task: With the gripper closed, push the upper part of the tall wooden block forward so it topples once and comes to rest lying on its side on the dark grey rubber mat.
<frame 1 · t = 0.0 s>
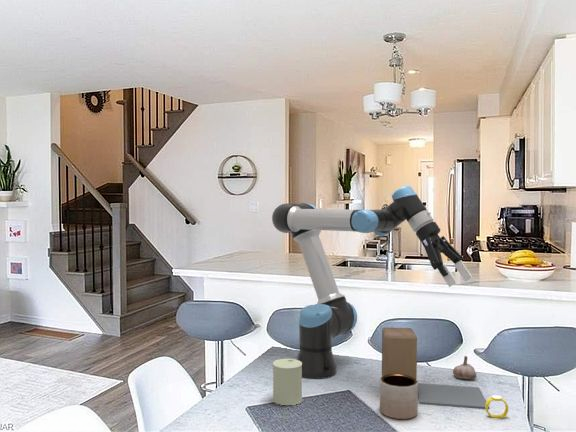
hand: (461, 282, 156), 36 cm above the table, tool tilted 35°, fingers open, 13 cm apart
garlic bulb: (464, 378, 171), on the table
can: (287, 400, 152), on the table
planter: (398, 413, 143), on the table
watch: (496, 417, 140), on the table
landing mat: (450, 396, 155), on the table
wooden block: (398, 393, 158), on the table
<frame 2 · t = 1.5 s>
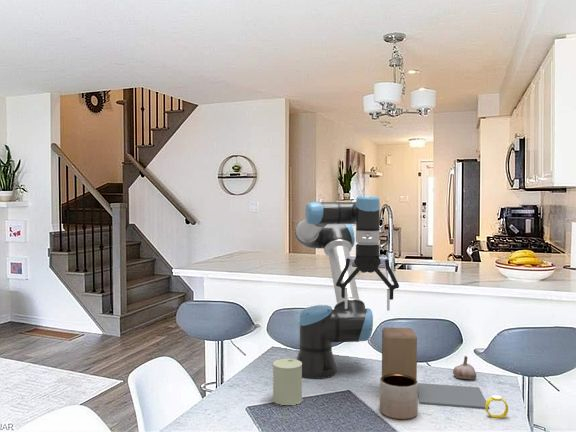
hand: (367, 308, 159), 27 cm above the table, tool pointing down, fingers open, 13 cm apart
nothing on the table moved.
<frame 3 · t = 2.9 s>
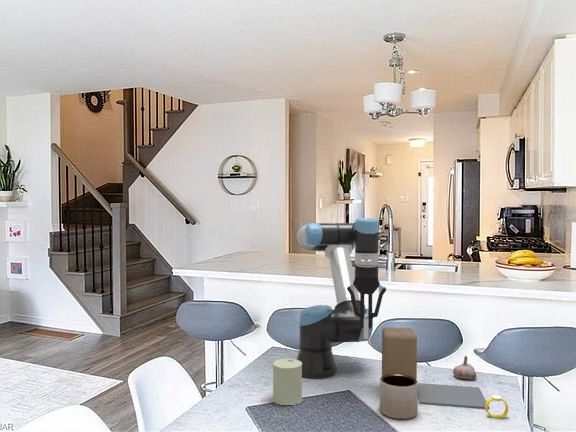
hand: (366, 337, 159), 17 cm above the table, tool pointing down, fingers closed
nothing on the table moved.
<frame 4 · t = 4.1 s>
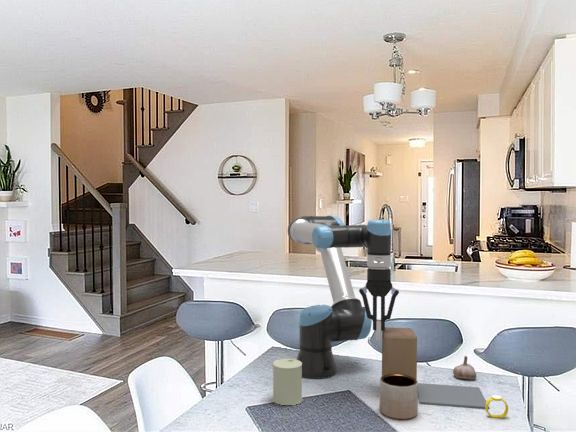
hand: (378, 340, 158), 17 cm above the table, tool pointing down, fingers closed
wooden block: (398, 393, 158), on the table, touching gripper
everything else where it was.
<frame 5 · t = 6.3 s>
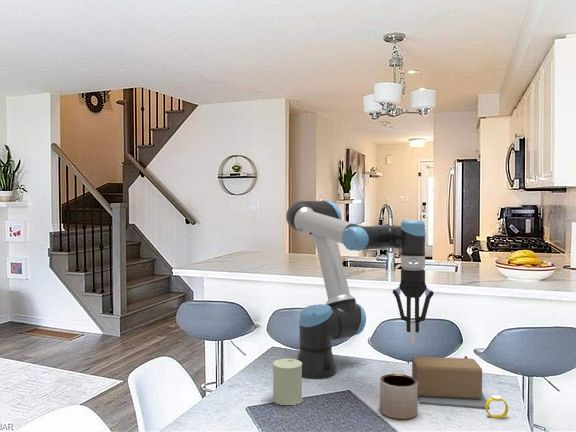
hand: (412, 342, 156), 17 cm above the table, tool pointing down, fingers closed
wooden block: (413, 375, 157), point 6 cm above the table, touching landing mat
everything else where it was.
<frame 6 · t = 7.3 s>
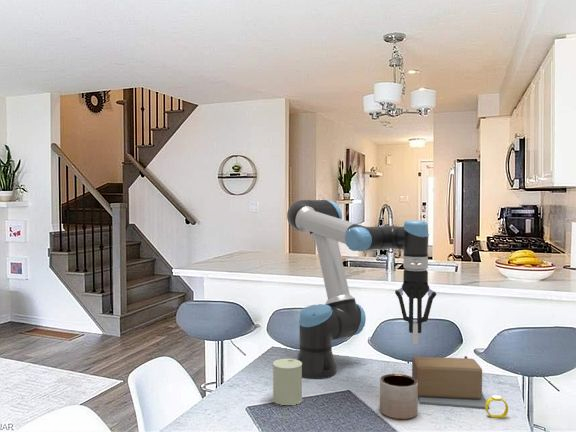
hand: (414, 342, 156), 16 cm above the table, tool pointing down, fingers closed
nothing on the table moved.
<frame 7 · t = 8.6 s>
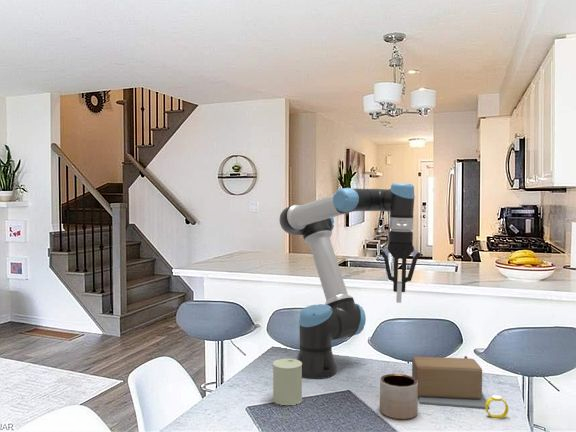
hand: (398, 301, 161), 29 cm above the table, tool pointing down, fingers closed
nothing on the table moved.
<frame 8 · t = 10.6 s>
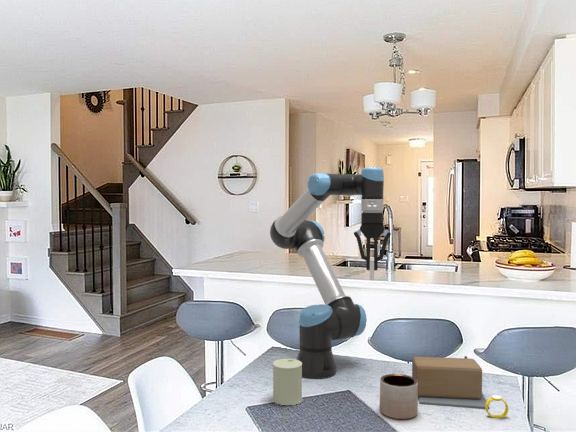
hand: (371, 279, 170), 34 cm above the table, tool pointing down, fingers closed
nothing on the table moved.
at the end: wooden block tilted 90°; wooden block touching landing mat; wooden block inside the target area (6.4 cm from its centre), point 5.6 cm above the table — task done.
